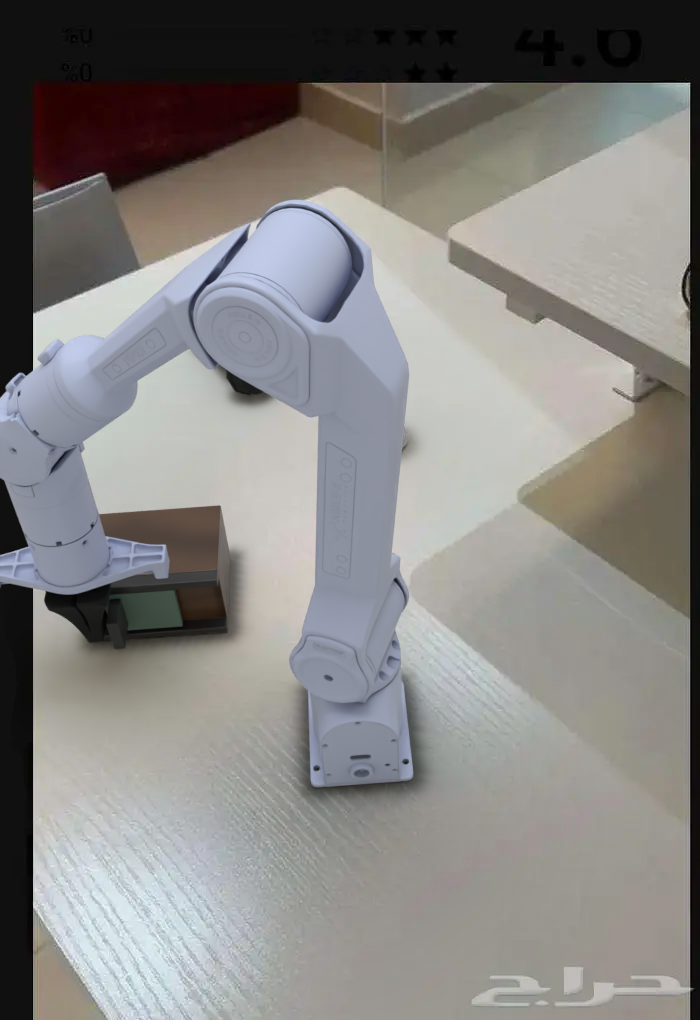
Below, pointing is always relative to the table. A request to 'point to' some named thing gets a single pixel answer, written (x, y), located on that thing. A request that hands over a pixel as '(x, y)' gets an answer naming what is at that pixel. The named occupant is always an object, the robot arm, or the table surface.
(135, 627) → the closet door
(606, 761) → the table surface
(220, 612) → the closet
